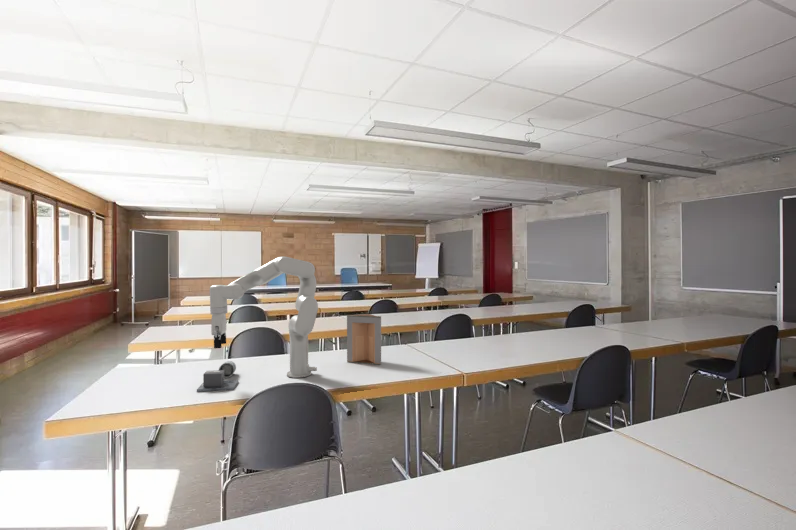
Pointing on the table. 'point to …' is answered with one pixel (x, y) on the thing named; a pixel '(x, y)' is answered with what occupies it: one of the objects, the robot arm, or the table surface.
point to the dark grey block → (213, 378)
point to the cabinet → (364, 339)
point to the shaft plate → (226, 386)
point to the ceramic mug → (228, 368)
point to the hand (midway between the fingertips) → (220, 345)
